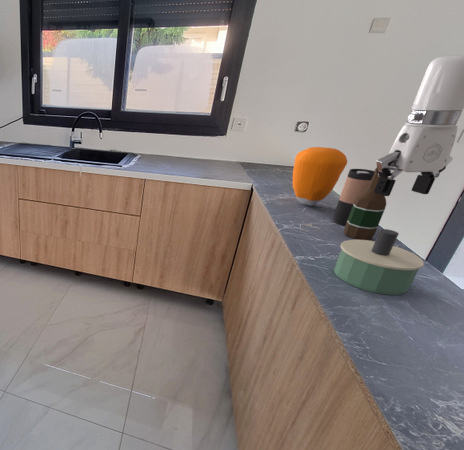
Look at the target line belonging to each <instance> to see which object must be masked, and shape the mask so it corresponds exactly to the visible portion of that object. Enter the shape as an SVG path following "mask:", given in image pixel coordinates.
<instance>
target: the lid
mask: <svg viewBox="0 0 464 450" xmlns="http://www.w3.org/2000/svg"><path fill="white" fill-rule="evenodd" d="M399 235H400V234H399V232H397V231H396V230H392V229H388V228H380V229H379V231H378V233H377V235H376V238H375V240H356V239H347V240H344V241H342V242H341V243H340V248H341V250H343V251H344V252H345V253H347V254H348V255H350V256H352V257H354V258H356V259H358V260H361V261H363V262H366V263H369V264H373V265H376V266H380V267H385V268H390V269H396V270H417V269H419V270H421V269H422V268H423V267H424V265H425V262H424V260H423V259H422V258H421V257H420V256H418V255H417V254H415V253H413V252H412V251H409V250H406V249H404V248H402V247H399V246H395V243H396V242H397V241H396V240H397V238H398V236H399Z"/></svg>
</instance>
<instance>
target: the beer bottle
mask: <svg viewBox="0 0 464 450" xmlns="http://www.w3.org/2000/svg"><path fill="white" fill-rule="evenodd" d="M376 170H377V167H376V168H375V169H374V171H375V173H374V176H373V178H372V180H371V182H370V184H369V186H368V188H367V189H366V191H365V192H363V193H362V194H360V195H359V196H358V197H357V198H356V200H355V202H354V204H353V207H352V209H351V212H350V215H349V217H348V220H347V223H346V226H345V225H344V229H343V234H344V236H345V237H347V238H350V239H352V240H369V241H372V240H373V238H374V236H375V234H376V233H377V230H378V227H379V225H380V222H381V220H382V217H383V215H384V212H385V210H386V207H387V199H386V196H383V195H380V194H377V193H374V190H375V188H376V185H377V183H378V180H379V178H380V177H378V172H377V171H376ZM390 172H391V173H392V170H391V171H390Z"/></svg>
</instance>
